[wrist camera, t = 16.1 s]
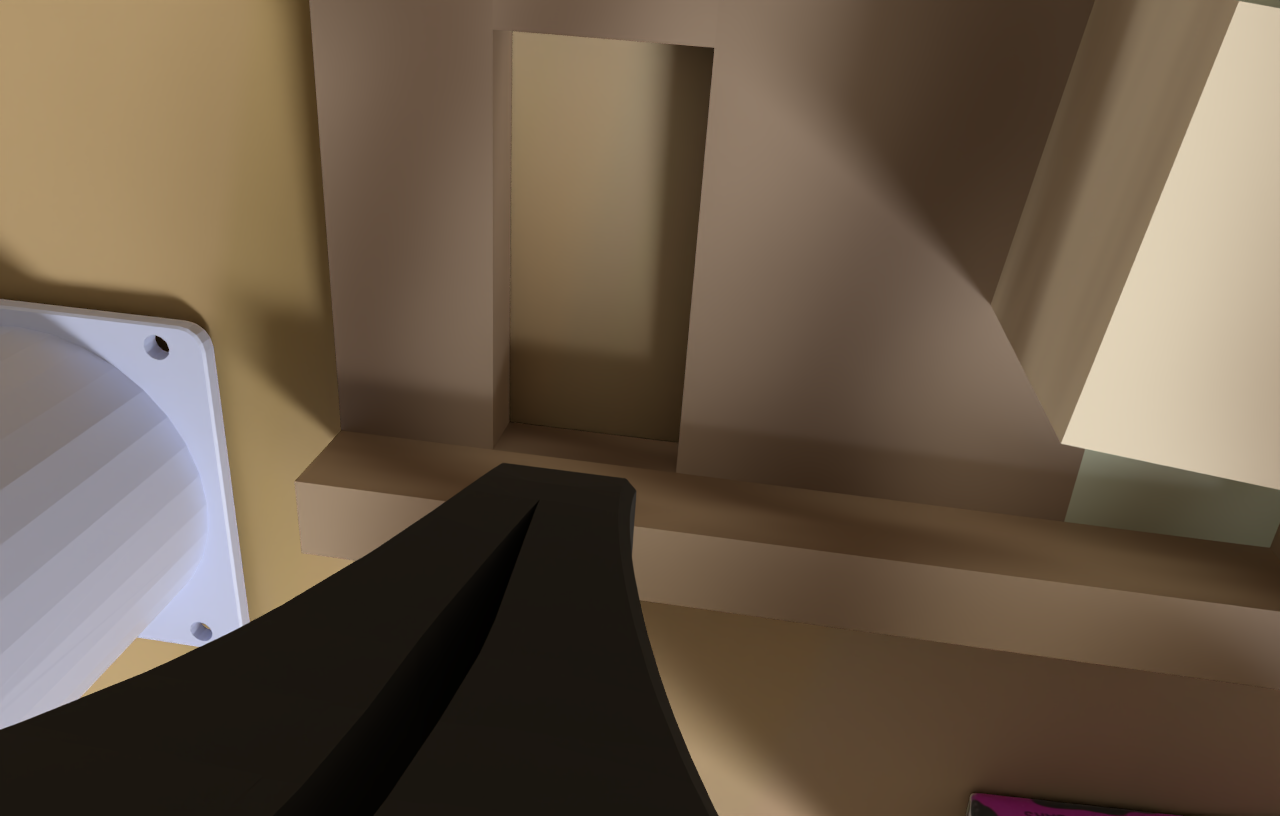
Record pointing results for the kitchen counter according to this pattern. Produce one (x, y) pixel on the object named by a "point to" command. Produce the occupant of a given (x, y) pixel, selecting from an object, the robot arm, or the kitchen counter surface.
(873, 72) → the board
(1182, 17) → the block
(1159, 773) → the kitchen counter surface
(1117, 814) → the candy bar box
